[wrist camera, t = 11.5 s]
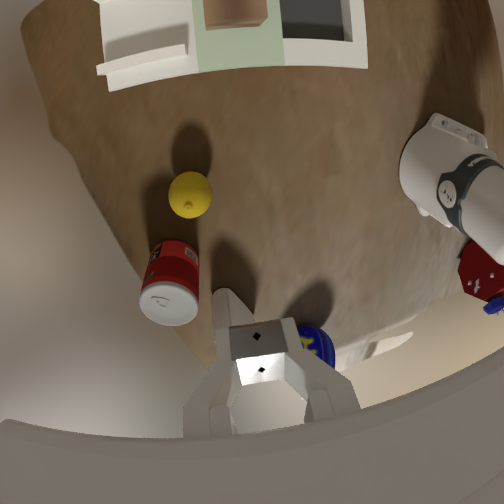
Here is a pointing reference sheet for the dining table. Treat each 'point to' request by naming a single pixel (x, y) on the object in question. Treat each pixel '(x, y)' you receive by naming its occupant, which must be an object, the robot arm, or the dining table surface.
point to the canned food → (171, 284)
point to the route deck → (225, 39)
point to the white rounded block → (228, 310)
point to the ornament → (317, 343)
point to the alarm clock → (482, 277)
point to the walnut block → (234, 13)
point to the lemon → (190, 194)
